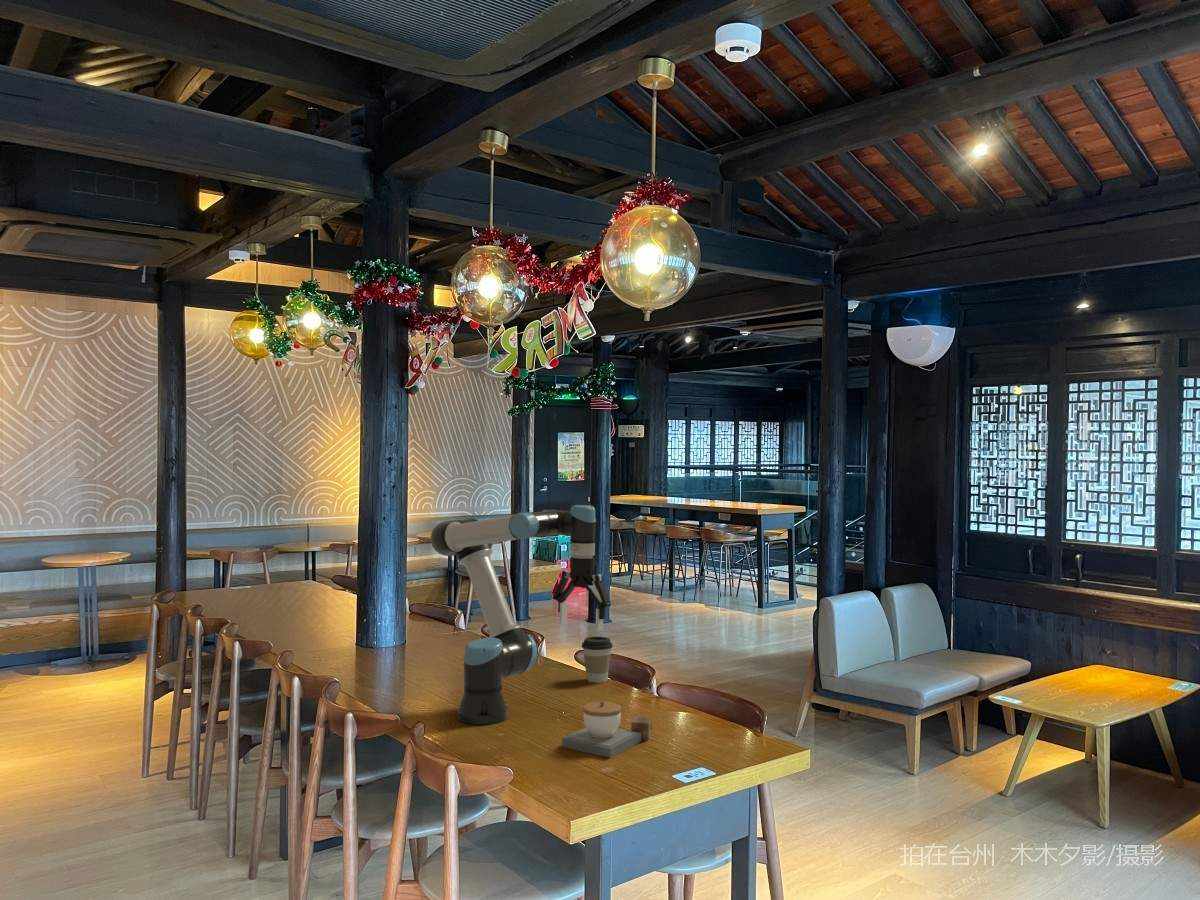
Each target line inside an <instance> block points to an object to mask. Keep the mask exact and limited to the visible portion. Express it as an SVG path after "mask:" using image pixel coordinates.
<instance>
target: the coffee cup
mask: <svg viewBox="0 0 1200 900" xmlns="http://www.w3.org/2000/svg"><path fill="white" fill-rule="evenodd" d="M581 648H582V651H583V658H584V666H585V665H586V666H585V667H584V669H585V675H586V680H589V681H591V682H596V683H595V684H603V683H602V682H605V683H607V681H608V678H609V671H610V670H609V669H610V661H611V653H612V648H613V643H612V642H611V640H610V638H609V637H606V636H589V637H586V638H584V640H583V642H582V643H581Z"/></svg>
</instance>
